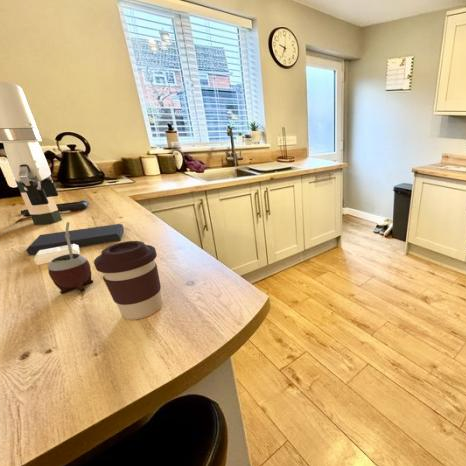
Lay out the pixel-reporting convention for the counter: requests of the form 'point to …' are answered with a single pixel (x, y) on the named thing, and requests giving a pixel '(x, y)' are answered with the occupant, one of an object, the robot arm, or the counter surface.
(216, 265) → the counter surface
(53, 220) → the wine bottle
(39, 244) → the dark grey flat bar
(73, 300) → the counter surface
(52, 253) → the soap bar
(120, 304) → the coffee cup
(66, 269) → the mate gourd
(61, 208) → the door handle
